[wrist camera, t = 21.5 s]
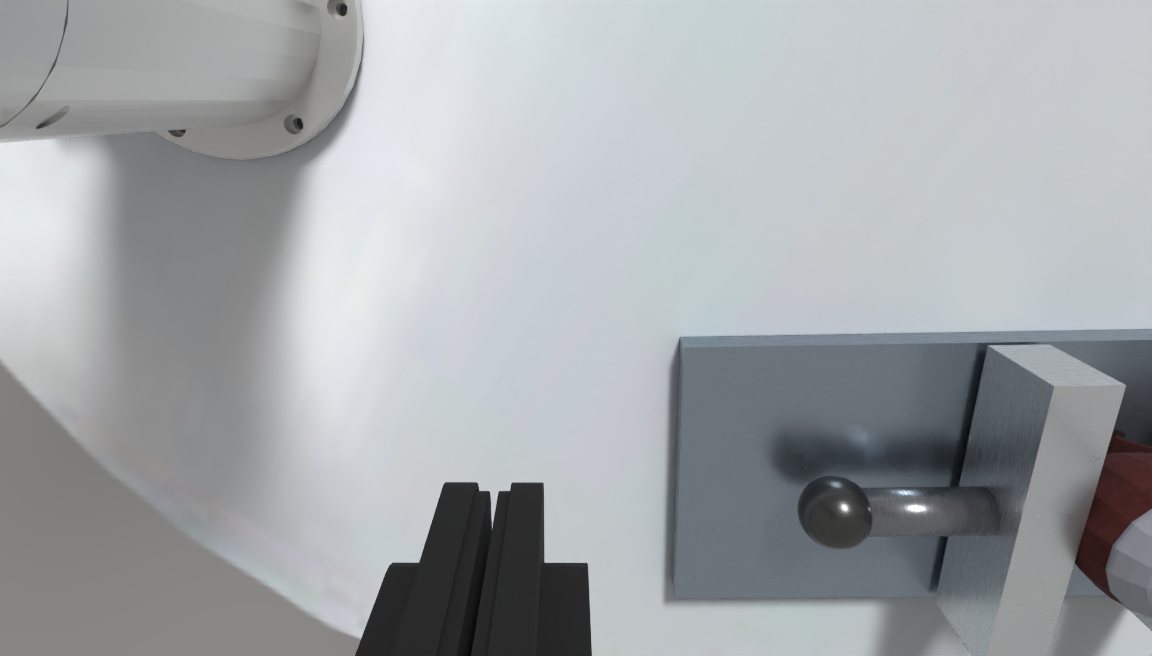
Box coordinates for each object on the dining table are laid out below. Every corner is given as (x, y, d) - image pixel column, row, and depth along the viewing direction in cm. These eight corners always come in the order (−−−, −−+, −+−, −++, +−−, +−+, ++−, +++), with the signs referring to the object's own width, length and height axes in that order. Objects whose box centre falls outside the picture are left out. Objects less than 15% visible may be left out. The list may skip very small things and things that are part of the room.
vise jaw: (773, 603, 37) (799, 672, 33) (798, 348, 32) (834, 389, 27) (987, 601, 37) (1042, 671, 32) (1049, 344, 32) (1126, 385, 27)
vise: (672, 580, 39) (687, 669, 33) (680, 337, 34) (700, 389, 28) (1171, 577, 38) (1281, 667, 32) (1260, 327, 33) (1413, 379, 27)
